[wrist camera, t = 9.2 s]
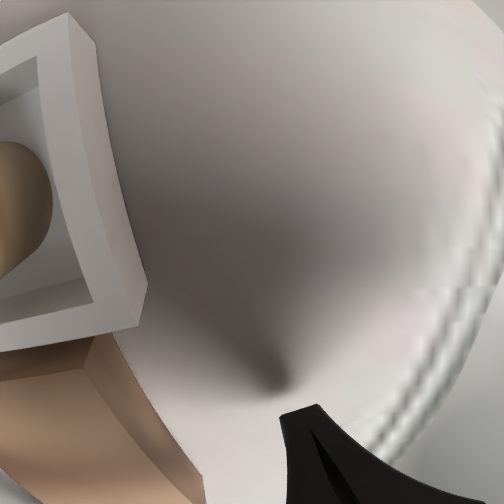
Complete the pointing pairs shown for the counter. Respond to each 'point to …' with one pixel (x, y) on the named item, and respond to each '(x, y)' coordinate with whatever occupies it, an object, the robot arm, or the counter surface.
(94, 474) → the walnut slab
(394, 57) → the counter surface
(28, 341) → the cradle
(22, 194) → the rounded wooden peg
